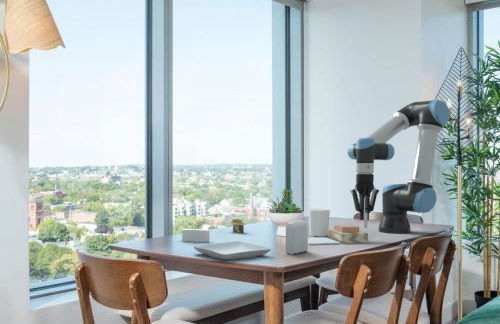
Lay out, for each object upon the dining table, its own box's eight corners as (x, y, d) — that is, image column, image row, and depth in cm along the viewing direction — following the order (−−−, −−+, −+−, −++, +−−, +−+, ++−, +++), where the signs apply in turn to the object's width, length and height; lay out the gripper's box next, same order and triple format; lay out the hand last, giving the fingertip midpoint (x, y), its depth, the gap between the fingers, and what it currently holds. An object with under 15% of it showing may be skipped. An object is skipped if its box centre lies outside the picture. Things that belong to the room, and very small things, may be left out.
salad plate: (223, 263, 192) (223, 253, 192) (192, 254, 209) (192, 245, 209) (272, 257, 205) (272, 248, 205) (239, 249, 222) (239, 240, 222)
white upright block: (293, 255, 208) (293, 221, 208) (283, 253, 211) (284, 220, 211) (309, 251, 216) (309, 219, 216) (299, 250, 219) (300, 218, 219)
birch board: (353, 238, 253) (353, 229, 253) (367, 242, 240) (367, 233, 240) (328, 238, 250) (328, 229, 250) (341, 243, 237) (341, 234, 237)
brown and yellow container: (238, 236, 259) (238, 222, 259) (215, 232, 273) (215, 218, 273) (258, 234, 267) (258, 220, 267) (234, 230, 281) (235, 217, 281)
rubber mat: (325, 238, 251) (325, 237, 251) (340, 244, 236) (340, 242, 236) (295, 239, 247) (295, 238, 247) (308, 245, 232) (308, 243, 232)
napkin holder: (217, 242, 241) (217, 228, 241) (198, 245, 233) (198, 231, 233) (191, 238, 251) (191, 225, 251) (173, 241, 242) (173, 228, 242)
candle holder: (329, 237, 255) (329, 210, 255) (307, 236, 257) (307, 210, 257) (330, 234, 265) (330, 208, 265) (309, 233, 267) (309, 208, 267)
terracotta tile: (351, 230, 250) (351, 224, 250) (359, 232, 242) (359, 226, 242) (334, 230, 248) (334, 225, 248) (342, 232, 240) (342, 227, 240)
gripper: (355, 173, 242) (354, 229, 242) (382, 173, 245) (381, 228, 245) (347, 173, 249) (346, 226, 249) (374, 173, 252) (373, 226, 252)
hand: (364, 227), depth 247 cm, fingers closed
